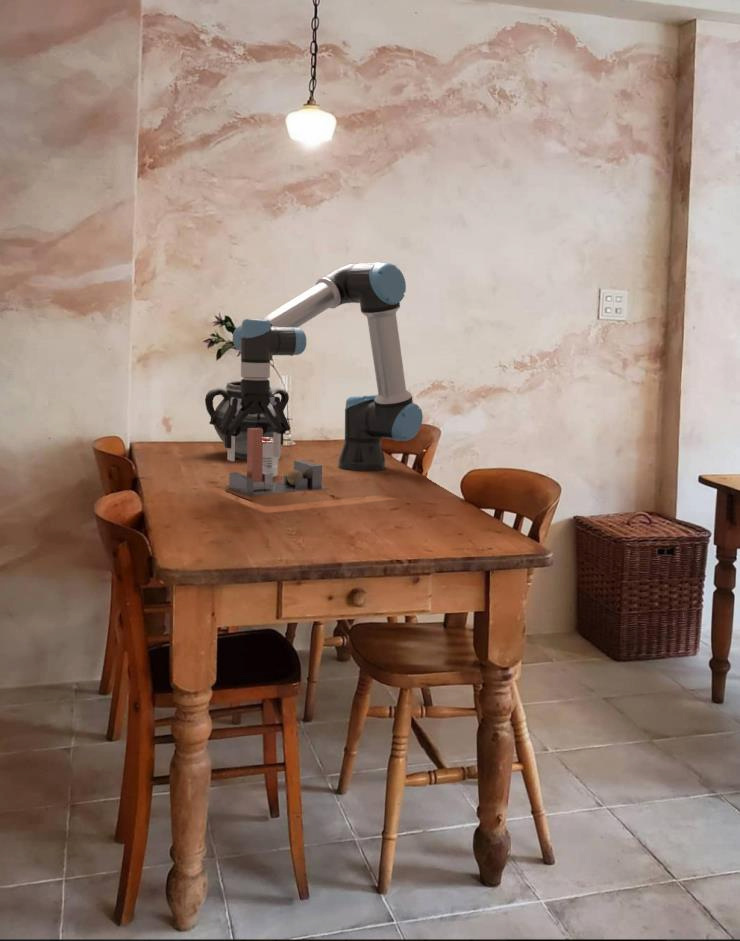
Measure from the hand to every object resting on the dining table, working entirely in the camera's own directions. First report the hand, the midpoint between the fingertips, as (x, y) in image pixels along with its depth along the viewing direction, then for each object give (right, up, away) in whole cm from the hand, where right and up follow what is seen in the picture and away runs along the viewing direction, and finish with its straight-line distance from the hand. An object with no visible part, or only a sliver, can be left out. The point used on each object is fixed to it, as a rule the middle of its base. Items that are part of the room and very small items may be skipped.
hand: (254, 459), depth 246 cm
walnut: (+10, -7, +9) cm, 15 cm away
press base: (+6, -9, +6) cm, 12 cm away
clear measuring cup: (0, -6, +24) cm, 24 cm away
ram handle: (+1, -8, +2) cm, 8 cm away
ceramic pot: (-10, +1, +64) cm, 65 cm away
